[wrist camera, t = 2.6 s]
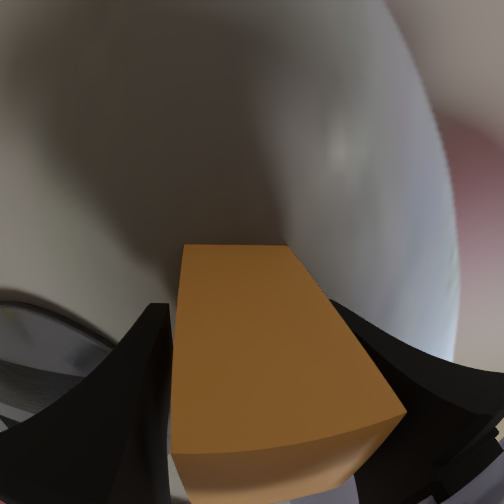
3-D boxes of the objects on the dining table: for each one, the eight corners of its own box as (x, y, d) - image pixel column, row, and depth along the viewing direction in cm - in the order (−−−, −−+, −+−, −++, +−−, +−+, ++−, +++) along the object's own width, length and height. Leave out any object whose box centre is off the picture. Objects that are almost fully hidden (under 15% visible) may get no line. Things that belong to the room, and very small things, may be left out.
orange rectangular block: (287, 245, 11) (407, 411, 4) (275, 326, 13) (340, 486, 5) (184, 244, 10) (170, 453, 3) (187, 329, 12) (193, 508, 5)
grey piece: (162, 311, 11) (153, 378, 8) (196, 489, 20) (200, 518, 17) (-59, 289, 8) (-90, 321, 5) (60, 470, 17) (56, 496, 14)
